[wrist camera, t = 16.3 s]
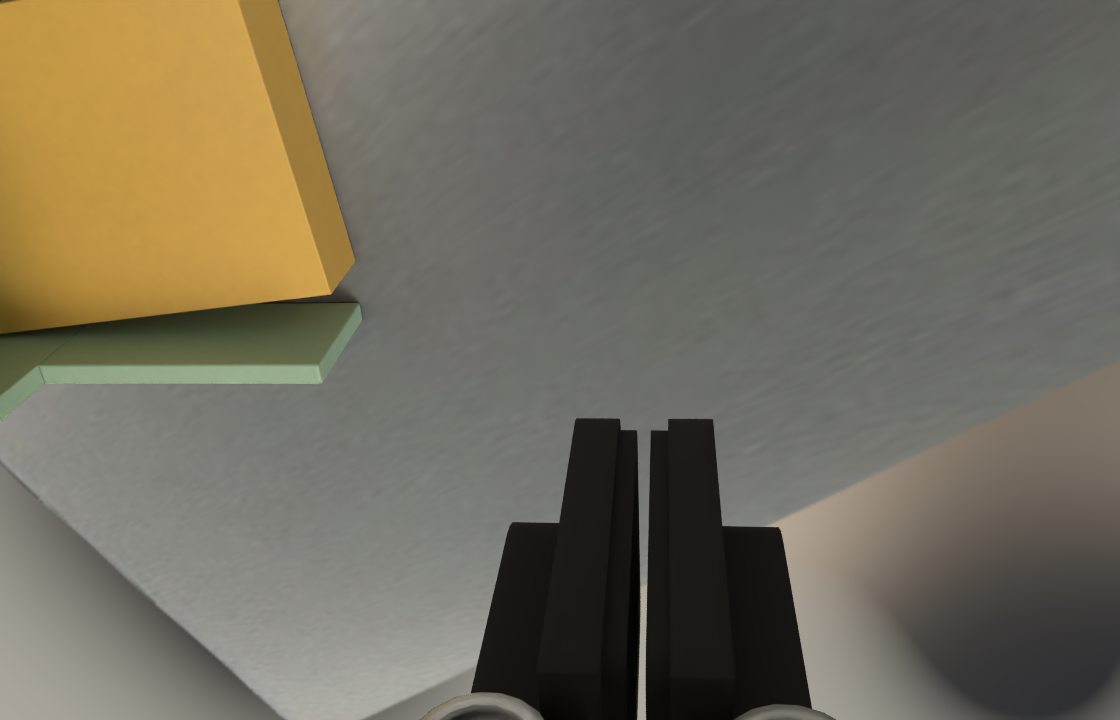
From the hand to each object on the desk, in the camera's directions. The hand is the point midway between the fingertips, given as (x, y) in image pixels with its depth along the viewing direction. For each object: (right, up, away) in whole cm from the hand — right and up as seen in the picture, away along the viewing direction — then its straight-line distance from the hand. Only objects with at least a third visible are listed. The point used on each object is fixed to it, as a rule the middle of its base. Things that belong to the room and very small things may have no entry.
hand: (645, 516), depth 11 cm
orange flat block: (-17, +10, +22) cm, 29 cm away
